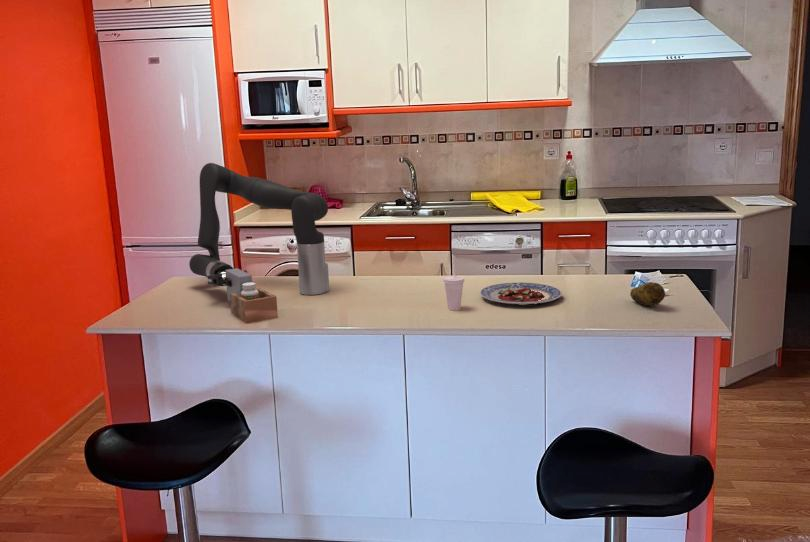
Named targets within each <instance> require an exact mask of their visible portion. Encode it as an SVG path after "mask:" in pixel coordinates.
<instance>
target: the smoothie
mask: <svg viewBox="0 0 810 542" xmlns="http://www.w3.org/2000/svg"><path fill="white" fill-rule="evenodd" d="M452 267H453V268H452V270H453V271H452V273H453V274H452V275H448V276H445V277H443V283H444V288H445V294H446V303H447V310H449V311H459V310H461V305H462V297H463V289H464V282H465V277H464V276H461V275H456V264H455V263H453V264H452Z"/></svg>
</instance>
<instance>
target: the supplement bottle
mask: <svg viewBox="0 0 810 542" xmlns="http://www.w3.org/2000/svg"><path fill="white" fill-rule="evenodd" d="M256 287H257V285H256V283H255V282H253V281H252V282H249V283H244V284H242V288H243V289H244V290H243V291H242V292H241V297H242V298H244V299H246V300H252V299H258V298H259V292H258V290H257V288H256Z"/></svg>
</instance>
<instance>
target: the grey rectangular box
mask: <svg viewBox="0 0 810 542" xmlns="http://www.w3.org/2000/svg"><path fill="white" fill-rule="evenodd" d="M225 274H226V278H228V279H230V280H231V281H232V287H229V286H226V296H227V297H226V298H227V301H228V302H230V293H235V294H237V295H239V296H240V297H241V292H242V291H243V290H244V289H243V288H242V284H244V283H249V282H253V277H252V276H253V275H251V274H249V273H248V272H247V273H246V272H244V270H241V269H240V268H233V269H229V270H225Z"/></svg>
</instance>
